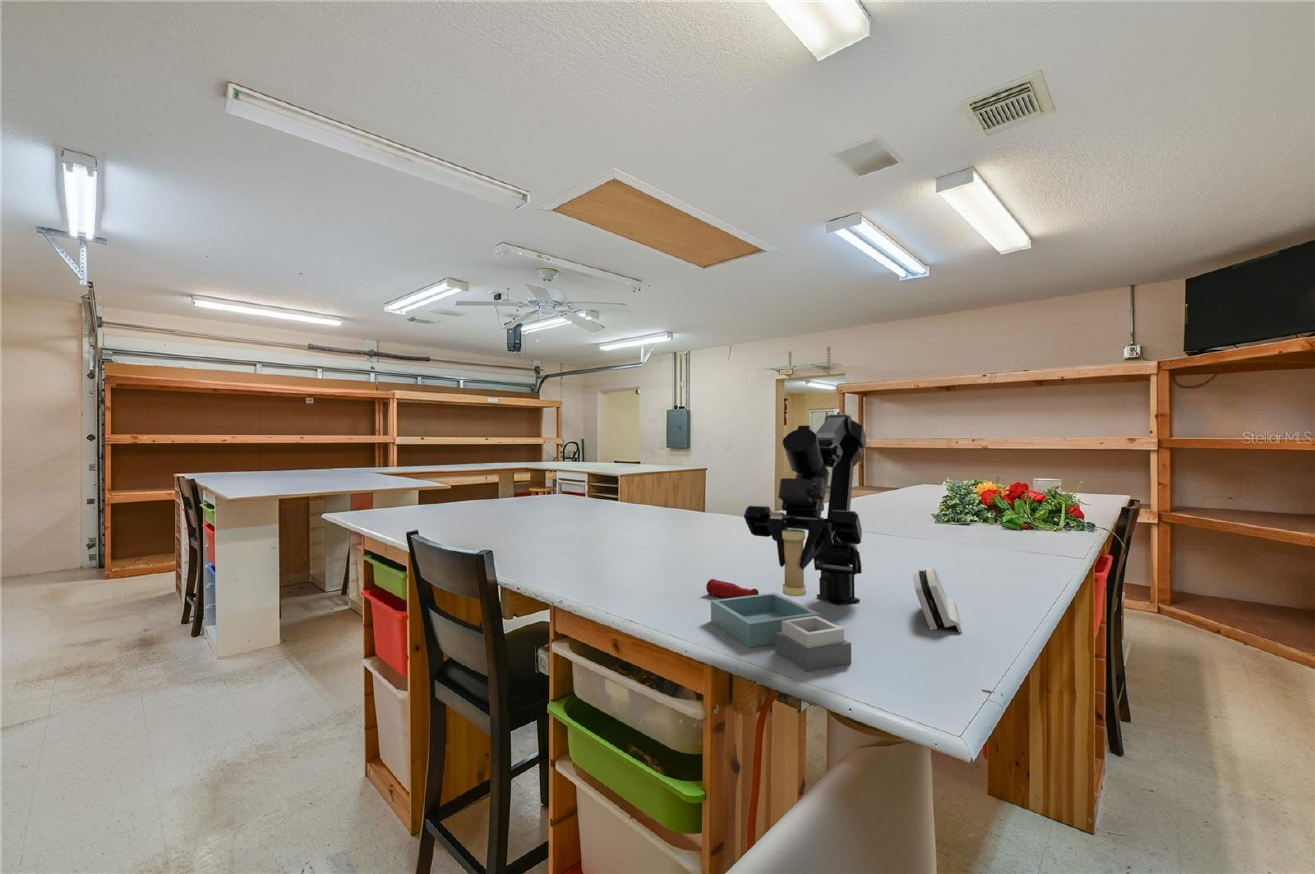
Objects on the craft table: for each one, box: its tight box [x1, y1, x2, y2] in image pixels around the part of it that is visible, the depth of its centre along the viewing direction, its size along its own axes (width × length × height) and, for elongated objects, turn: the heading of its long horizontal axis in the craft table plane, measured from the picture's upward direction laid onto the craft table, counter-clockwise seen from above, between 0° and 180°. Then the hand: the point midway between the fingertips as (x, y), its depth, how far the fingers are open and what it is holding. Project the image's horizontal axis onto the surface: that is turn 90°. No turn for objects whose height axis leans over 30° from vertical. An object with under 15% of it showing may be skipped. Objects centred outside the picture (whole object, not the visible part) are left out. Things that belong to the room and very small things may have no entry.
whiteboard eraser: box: [912, 567, 963, 634], centre depth 99 cm, size 17×5×10 cm, turn 153°
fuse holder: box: [775, 616, 852, 672], centre depth 81 cm, size 8×8×5 cm
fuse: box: [782, 529, 807, 597], centre depth 84 cm, size 4×4×10 cm
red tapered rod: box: [705, 578, 814, 611], centre depth 107 cm, size 4×25×4 cm, turn 45°
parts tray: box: [710, 592, 821, 648], centre depth 94 cm, size 14×14×4 cm
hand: (791, 566), depth 83 cm, fingers closed on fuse, 3 cm apart
